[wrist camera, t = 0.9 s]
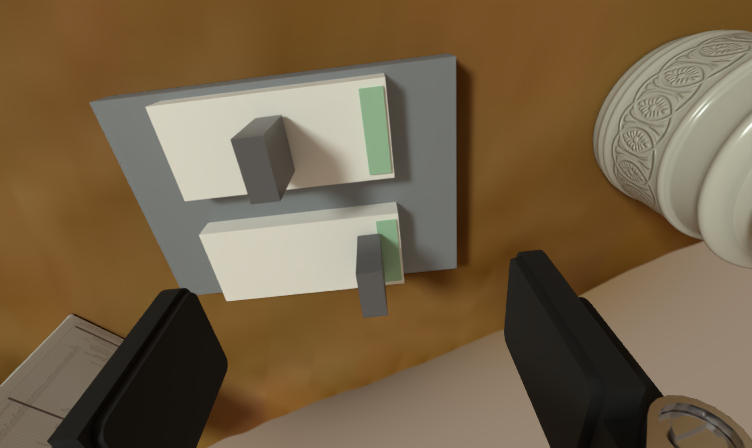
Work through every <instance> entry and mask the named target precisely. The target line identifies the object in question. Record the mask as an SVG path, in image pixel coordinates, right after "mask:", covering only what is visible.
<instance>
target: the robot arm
mask: <svg viewBox="0 0 752 448" xmlns="http://www.w3.org/2000/svg"><path fill="white" fill-rule="evenodd" d="M504 335H505V341H506V344H507V347H508V349H509V351H510V354H511V356H512V358H513V361H514V363H515V366H516V368H517V370H518V373H519V375H520V377H521V380H522V382H523V384H524V387H525V389H526V391H527V394H528V396H529V398H530V401H531V403H532V405H533V408H534V410H535V412H536V415H537V417H538V419H539V422H540V424H541V426H542V429H543V431H544V433H545V436H546V438H547V440H548V443H549V445H550V448H752V439H751V438H750V437H749V436H748V434H747V433H746V432H745V430H744V429H743V428H742V427H741V426H739V425H738V424H737V423H736V422H735V421H734V420H733V419H732V418H730V417H729V416H727V415H726V414H724V413H723V412H721V411H719V410H718V409H716V408H715V407H713V406H711V405H708V404H706V403H704V402H702V401H700V400H697V399H693V398H689V397H685V396H676V395H675V396H674V395H667V396H663V395H662V393H661V392H660V391H659V390H658V388H657V387H656V386H655V384H654V383H653V382H652V381H651V379H650V378H649V377H648V376H647V375H646V373H645V372H644V371H643V369H642V368H641V367H640V365H639V364H638V363H637V362H636V360H635V359H634V358H633V356H632V355H631V354H630V353H629V351H628V350H627V349H626V348H625V346H624V345H623V344H622V342H621V341H620V340H619V339H618V337H617V336H616V335H615V334H614V332H613V331H612V330H611V329H610V327H609V326H608V325H607V323H606V322H605V321H604V320H603V318H602V317H601V316H600V314H599V313H598V312H597V311H596V309H595V308H594V307H593V305H592V304H591V303H590V302H589V301H588V300H587V299H585V298H583V297H578V296H577V295H576V293H575V292H574V291H573V289H572V288H571V287H570V285H569V284H568V283H567V282H566V280H565V279H564V278H563V276H562V275H561V274H560V272H559V271H558V270H557V268H556V267H555V266H554V264H553V263H552V262H551V260H550V259H549V258H548V256H547V255H546V254H545V253H544V252H543V251H542V250H534V251H524V252H519V253H518V254H517V257H516V258H512V259H511V260H510V267H509V279H508V291H507V303H506V315H505V327H504ZM227 367H228V363H227V358H226V356H225V354H224V352H223V350H222V347H221V345H220V343H219V341H218V339H217V337H216V335H215V333H214V331H213V329H212V326H211V324H210V322H209V320H208V318H207V316H206V314H205V312H204V310H203V308H202V305H201V303H200V301H199V299H198V297H197V295H196V294H195V293H192V292H190V290H188V289H187V288H178V289H169V290H163V291H161V292H160V293H159V295H158V296H157V297H156V298H155V300H154V301H153V302H152V304H151V305H150V306H149V308H148V309H147V310H146V312H145V313H144V314H143V316H142V317H141V318H140V319H139V321H138V322H137V323H136V325H135V326H134V327H133V329H132V330H131V331H130V333H129V334H128V335H127V337H126V338H125V339H124V341H123V342H122V343H121V344H120V346H119V347H118V348H117V350H116V351H115V352H114V354H113V355H112V356H111V358H110V359H109V360H108V362H107V363H106V364H105V365H104V367H103V368H102V369H101V371H100V372H99V373H98V375H97V376H96V377H95V379H94V380H93V381H92V383H91V384H90V385H89V387H88V388H87V389H86V390H85V392H84V393H83V394H82V396H81V397H80V398H79V400H78V401H77V402H76V404H75V405H74V406H73V408H72V409H71V410H70V411H69V413H68V414H67V415H66V417H65V418H64V419H63V421H62V422H61V423H60V425H59V426H58V427H57V429H56V430H55V431H54V433H53V434H52V435H51V436H50V438H49V439H48V440H47V442H48V443H49V444H50V445H51V446H52V448H196V447H197V444H198V442H199V439H200V437H201V434H202V432H203V429H204V427H205V424H206V422H207V419H208V417H209V414H210V412H211V409H212V407H213V404H214V402H215V399H216V397H217V394H218V392H219V389H220V387H221V384H222V382H223V379H224V377H225V374H226V372H227Z"/></svg>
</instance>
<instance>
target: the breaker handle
mask: <svg viewBox="0 0 752 448" xmlns="http://www.w3.org/2000/svg"><path fill="white" fill-rule="evenodd" d="M356 279H357V285H358V291H359V296H360V302H361V308H362V313H363V318H366V317H376V316H386V315H388V312H387V298H386V283H385V271H384V263H383V255H382V247H381V239H380V234H371V235H362V236H357V256H356Z"/></svg>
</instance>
